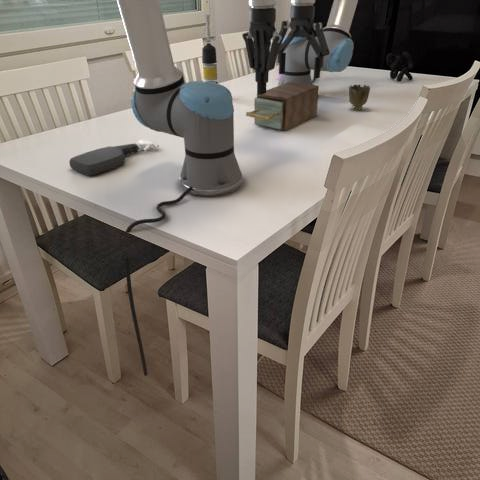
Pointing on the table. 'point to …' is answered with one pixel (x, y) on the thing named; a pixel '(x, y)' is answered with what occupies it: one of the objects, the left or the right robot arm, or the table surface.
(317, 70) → the right robot arm
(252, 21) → the left robot arm
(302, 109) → the cabinet
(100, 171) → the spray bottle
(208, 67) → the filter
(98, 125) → the table surface
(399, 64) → the squiggle
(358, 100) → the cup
